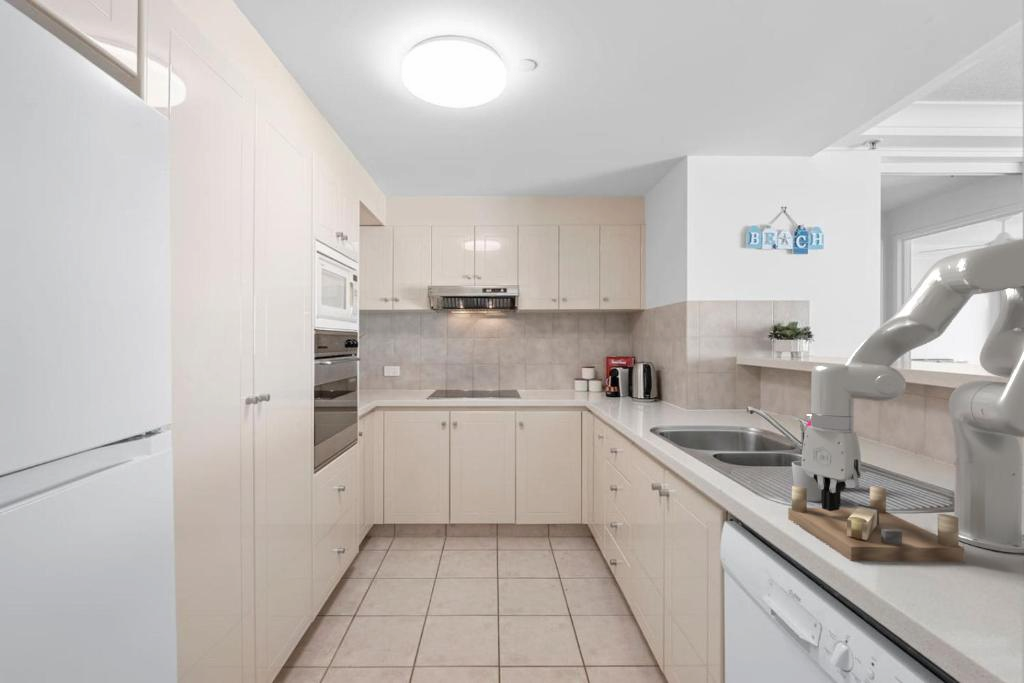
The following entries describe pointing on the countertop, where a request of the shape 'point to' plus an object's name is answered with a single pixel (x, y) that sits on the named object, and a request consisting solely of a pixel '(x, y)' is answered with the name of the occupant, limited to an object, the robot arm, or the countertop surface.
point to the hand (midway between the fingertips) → (830, 509)
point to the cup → (806, 482)
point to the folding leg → (862, 522)
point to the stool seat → (878, 532)
